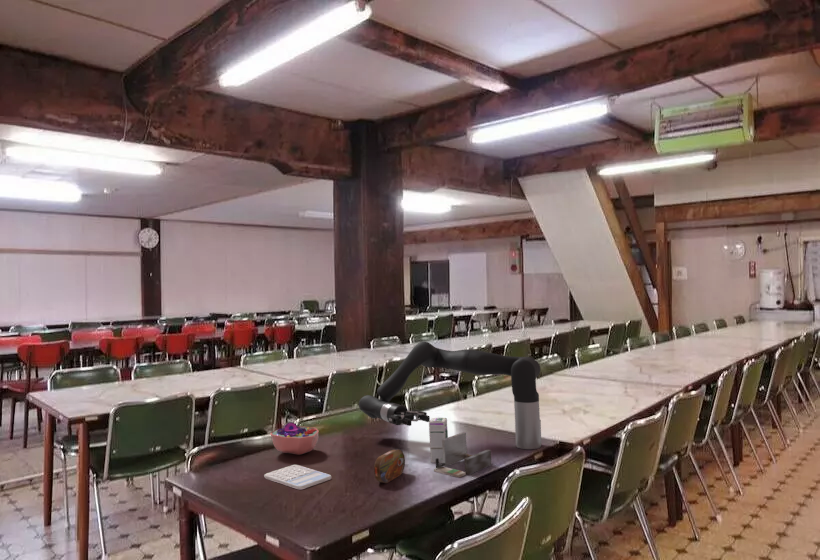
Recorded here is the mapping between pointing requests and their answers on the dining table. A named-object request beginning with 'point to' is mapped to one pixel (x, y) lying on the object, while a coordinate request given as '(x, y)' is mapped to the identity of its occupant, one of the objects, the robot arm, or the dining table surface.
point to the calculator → (297, 477)
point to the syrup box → (437, 437)
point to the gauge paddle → (453, 449)
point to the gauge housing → (469, 464)
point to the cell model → (295, 438)
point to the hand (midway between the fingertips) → (419, 421)
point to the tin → (389, 466)
